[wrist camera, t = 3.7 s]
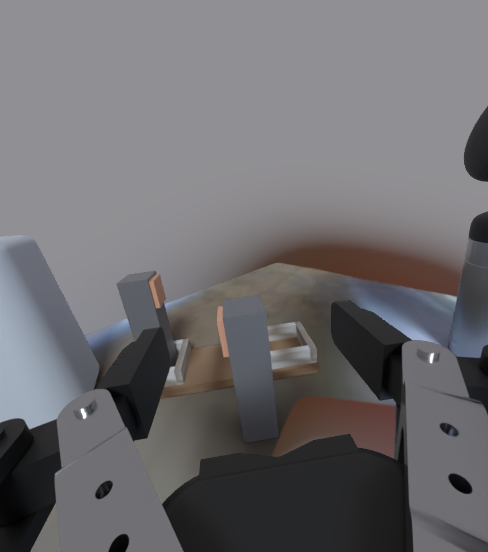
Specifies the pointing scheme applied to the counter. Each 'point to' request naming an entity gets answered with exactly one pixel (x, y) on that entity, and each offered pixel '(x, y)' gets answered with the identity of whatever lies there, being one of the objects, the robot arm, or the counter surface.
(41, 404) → the grey bottle
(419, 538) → the robot arm
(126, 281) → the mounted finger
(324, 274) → the counter surface
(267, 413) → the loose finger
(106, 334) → the counter surface
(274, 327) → the wooden base with sockets
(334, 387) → the counter surface
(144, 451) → the counter surface
